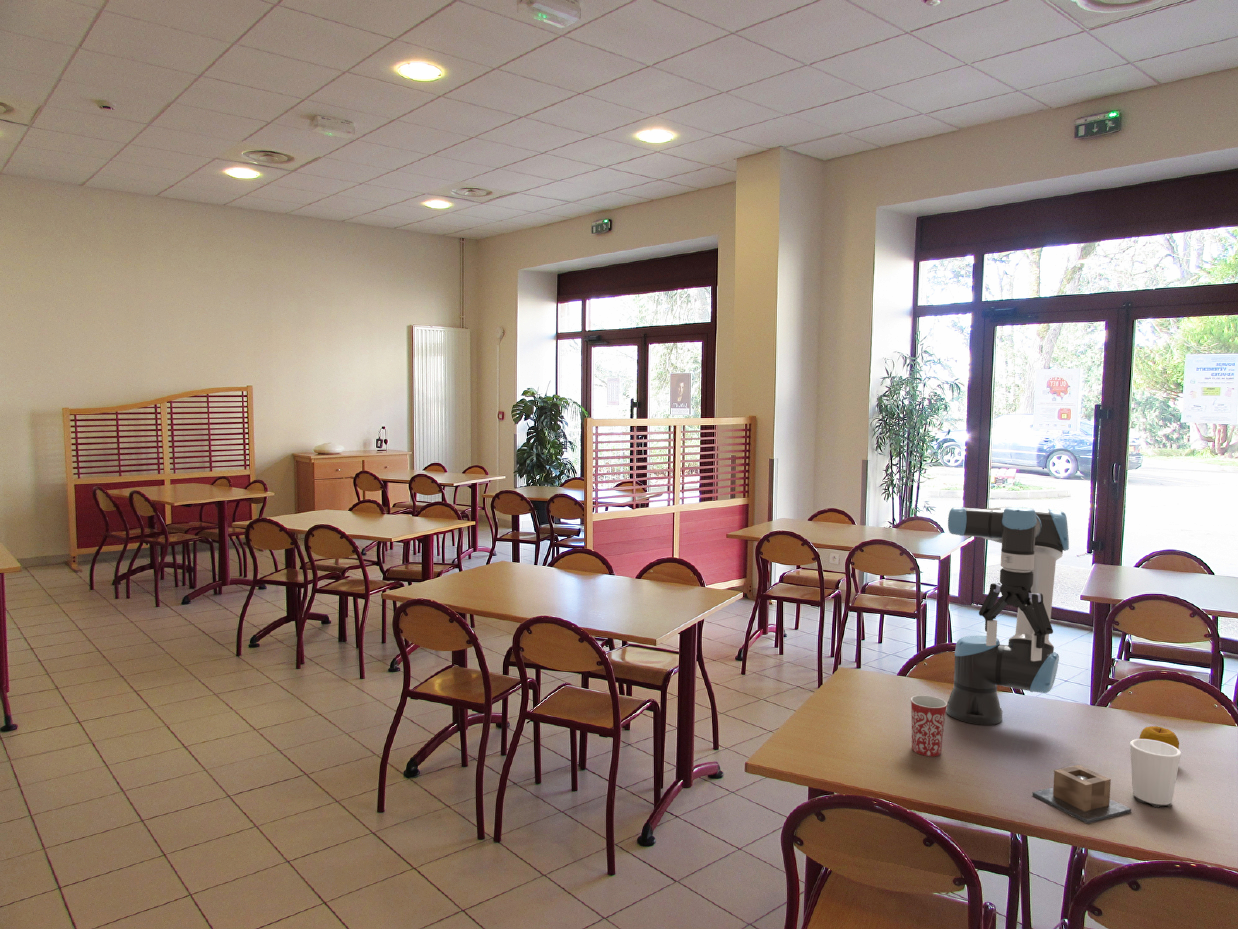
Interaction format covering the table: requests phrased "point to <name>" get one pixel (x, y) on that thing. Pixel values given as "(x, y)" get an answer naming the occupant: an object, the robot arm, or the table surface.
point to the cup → (1154, 771)
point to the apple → (1160, 735)
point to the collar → (1081, 787)
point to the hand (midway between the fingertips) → (1012, 652)
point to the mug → (927, 724)
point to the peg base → (1085, 816)
